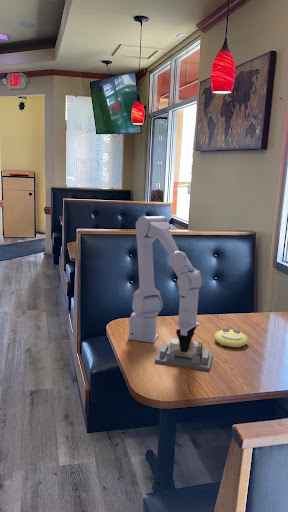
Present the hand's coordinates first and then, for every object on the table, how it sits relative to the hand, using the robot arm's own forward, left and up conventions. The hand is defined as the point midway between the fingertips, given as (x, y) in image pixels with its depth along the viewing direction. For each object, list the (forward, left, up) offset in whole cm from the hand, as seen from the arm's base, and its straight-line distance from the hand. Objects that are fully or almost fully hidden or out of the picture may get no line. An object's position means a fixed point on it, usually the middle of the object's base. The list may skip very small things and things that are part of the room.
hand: (185, 349), depth 136 cm
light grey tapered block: (0, 0, -2) cm, 2 cm away
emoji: (+14, +20, -4) cm, 25 cm away
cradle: (0, 0, -3) cm, 3 cm away
